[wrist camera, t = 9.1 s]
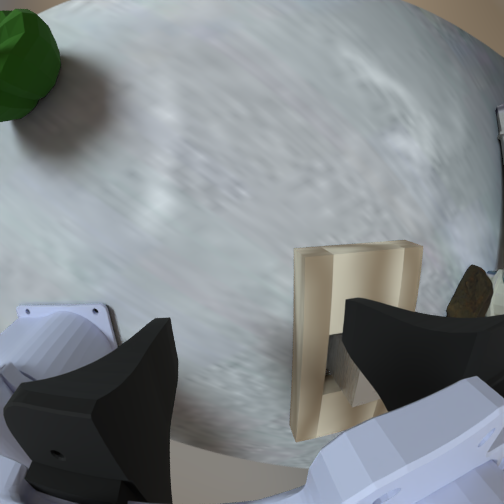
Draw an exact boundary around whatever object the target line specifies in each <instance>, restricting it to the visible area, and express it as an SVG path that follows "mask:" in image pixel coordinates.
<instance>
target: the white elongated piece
mask: <svg viewBox="0 0 504 504" xmlns="http://www.w3.org/2000/svg"><path fill="white" fill-rule="evenodd" d="M496 115H497V121H498V128H499V135H498V139H499V140H501V147H502V154H503V163H504V104H503V105H499V106H497V108H496ZM486 274H487V275H488V276H489V278H490V279H491V281H492V283H493V291H494V293H493V296H492V299H491V304H490V307H489V308H488V311H487V313H486V315H485V317H489V316H496V315H502V314H504V269H499V270H498V271H488V272H487V273H486Z"/></svg>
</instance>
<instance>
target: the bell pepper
mask: <svg viewBox="0 0 504 504" xmlns="http://www.w3.org/2000/svg"><path fill="white" fill-rule="evenodd" d="M60 67H61V62H60V52H59V49H58V47H57V44H56V41H55V39H54V37H53V35H52V33H51V30H50V28H49V26H48V25H47V24H46V23H45V22H44V21H43V20H42V19H41V18H40V17H39V16H38V15H37V14H35V13H34V12H32V11H30V10H28V9H15V10H13V11H0V122H3V121H9V120H14V119H21V118H23V117H24V116H26V115H27V114H28V113H29V112H30V111H31V110H32V109H34V108H35V107H36V105H37V103H38V100H39V99H40V98H43V97H45V96H46V95H47V94H48V92H49V91H50V90H51V89H52V88H53V87H54V85H55V83H56V79H57V76H58V73H59V70H60Z"/></svg>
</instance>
